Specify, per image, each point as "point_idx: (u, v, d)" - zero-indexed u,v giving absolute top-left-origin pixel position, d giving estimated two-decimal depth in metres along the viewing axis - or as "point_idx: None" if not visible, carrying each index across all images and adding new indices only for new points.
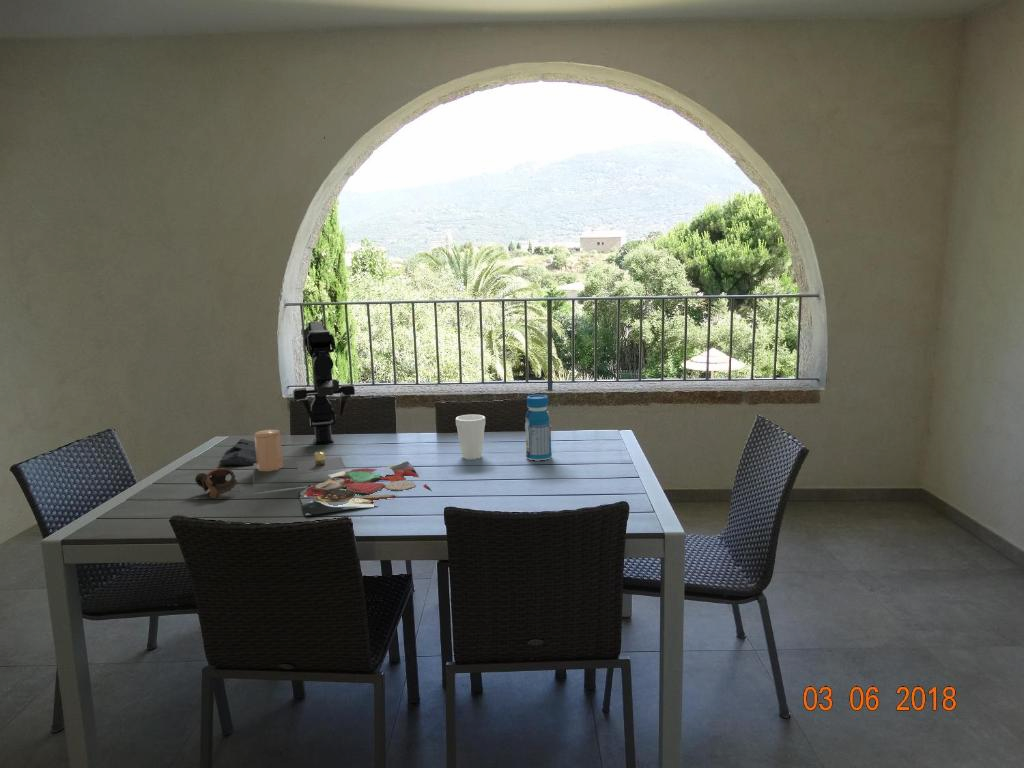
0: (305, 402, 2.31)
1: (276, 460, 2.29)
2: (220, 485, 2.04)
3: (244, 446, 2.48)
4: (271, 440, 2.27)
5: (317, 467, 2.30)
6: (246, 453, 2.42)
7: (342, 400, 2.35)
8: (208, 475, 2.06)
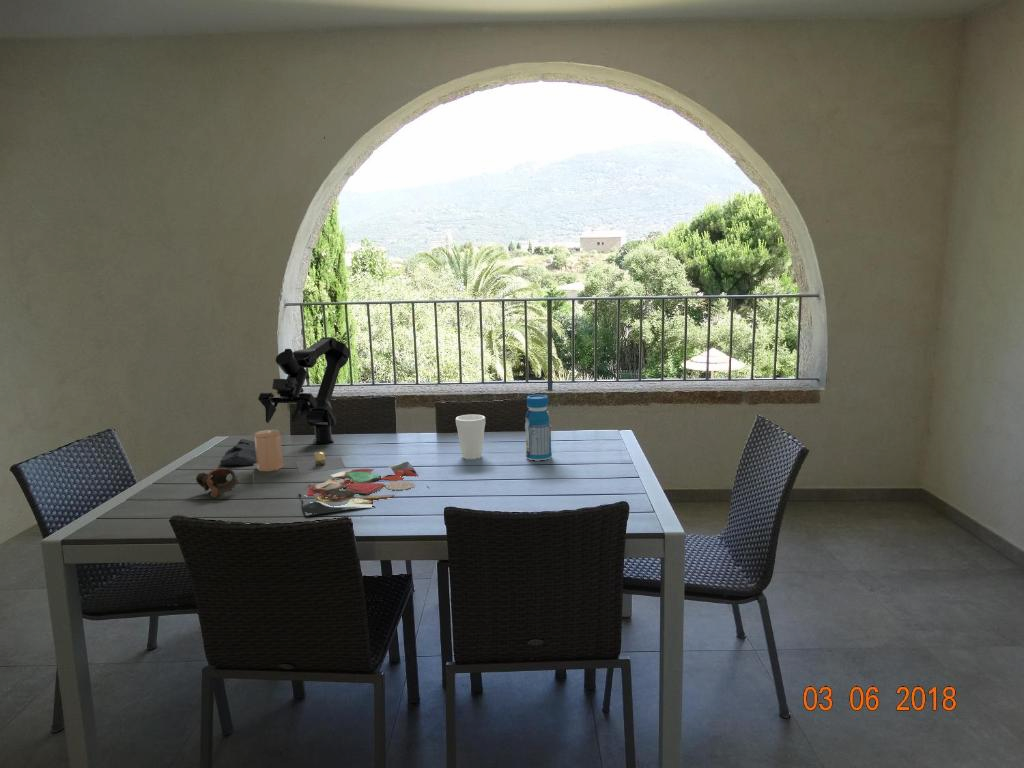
0: (266, 402, 2.40)
1: (276, 460, 2.29)
2: (221, 485, 2.04)
3: (245, 446, 2.48)
4: (271, 440, 2.27)
5: (317, 467, 2.30)
6: (246, 453, 2.42)
7: (297, 405, 2.37)
8: (209, 475, 2.06)
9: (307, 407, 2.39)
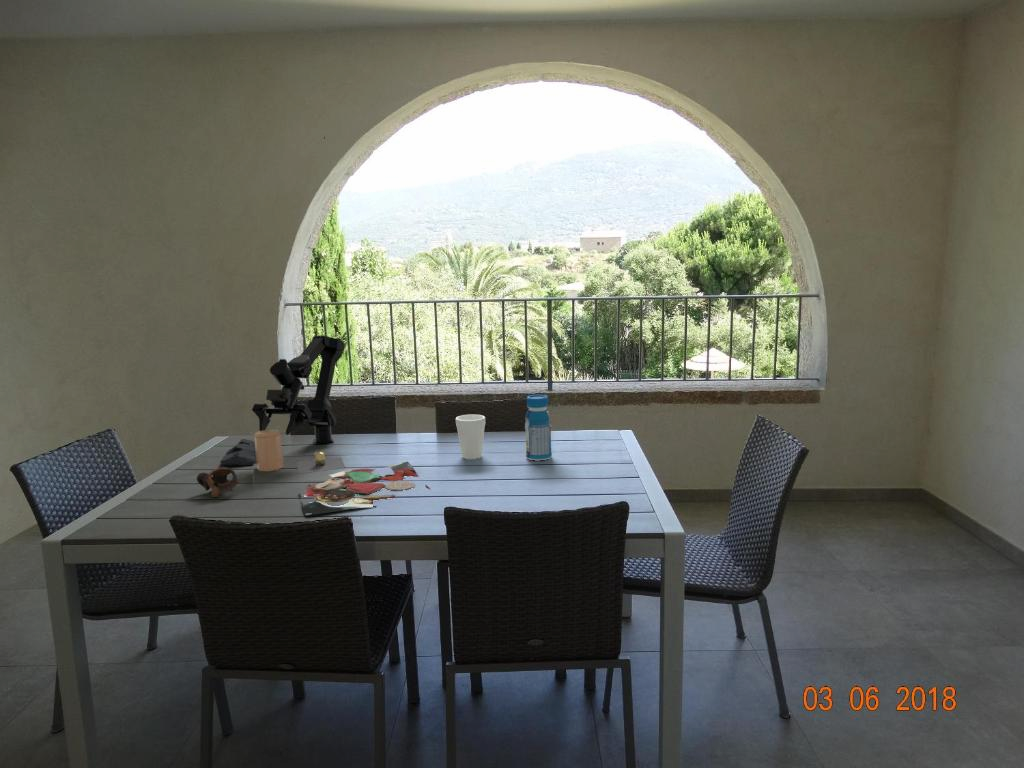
0: (260, 413, 2.36)
1: (276, 460, 2.29)
2: (222, 484, 2.05)
3: (245, 446, 2.48)
4: (271, 440, 2.27)
5: (317, 467, 2.30)
6: (247, 453, 2.42)
7: (291, 416, 2.34)
8: (210, 474, 2.06)
9: (301, 418, 2.36)
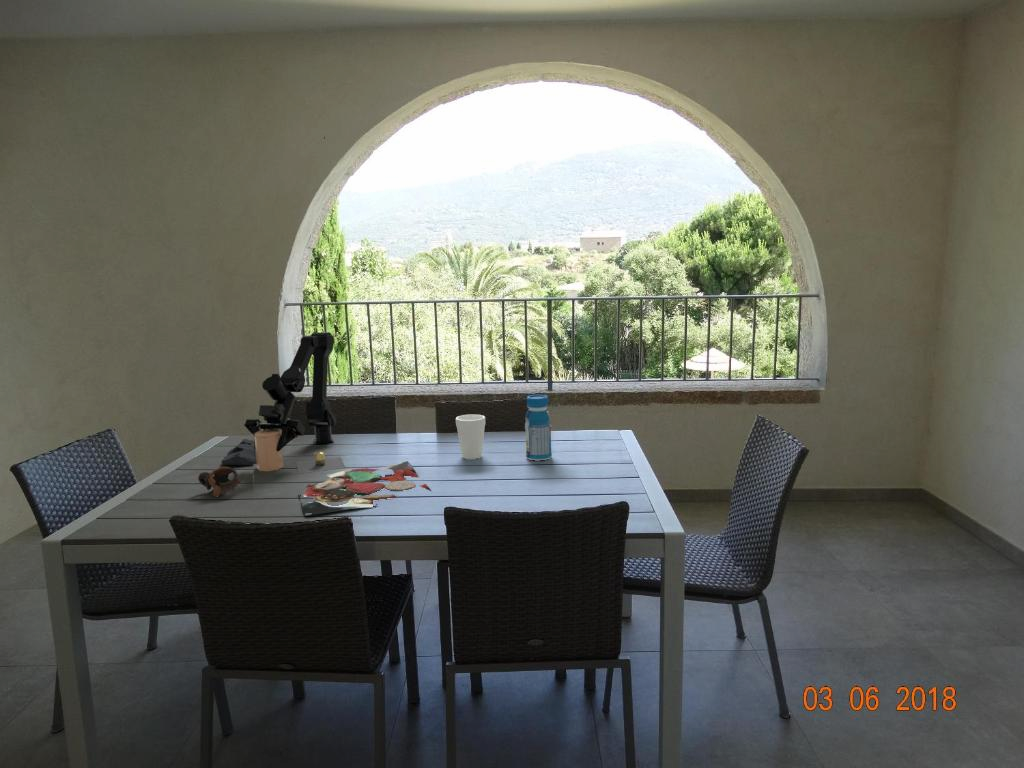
0: (254, 429, 2.32)
1: (276, 460, 2.29)
2: (223, 484, 2.05)
3: (246, 446, 2.48)
4: (271, 440, 2.27)
5: (317, 467, 2.30)
6: (247, 454, 2.41)
7: (282, 432, 2.30)
8: (211, 474, 2.07)
9: (293, 434, 2.32)
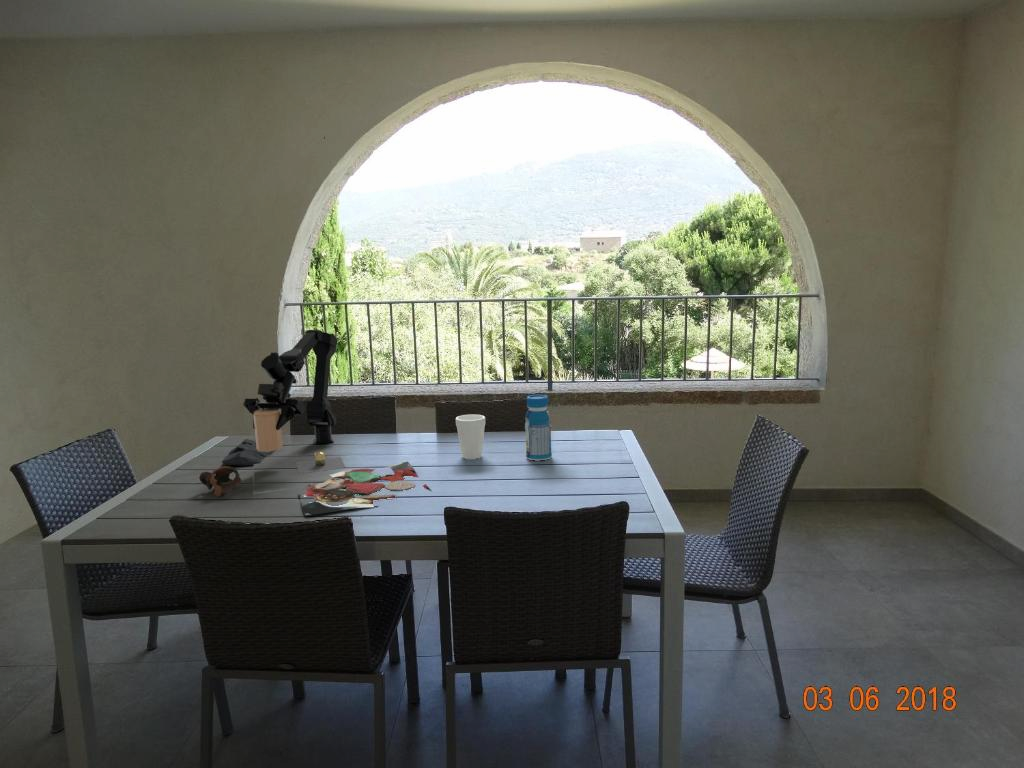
0: (253, 408, 2.31)
1: (275, 439, 2.28)
2: (225, 483, 2.06)
3: (247, 446, 2.48)
4: (270, 419, 2.26)
5: (317, 467, 2.30)
6: (248, 454, 2.41)
7: (282, 411, 2.29)
8: (212, 473, 2.07)
9: (292, 413, 2.31)
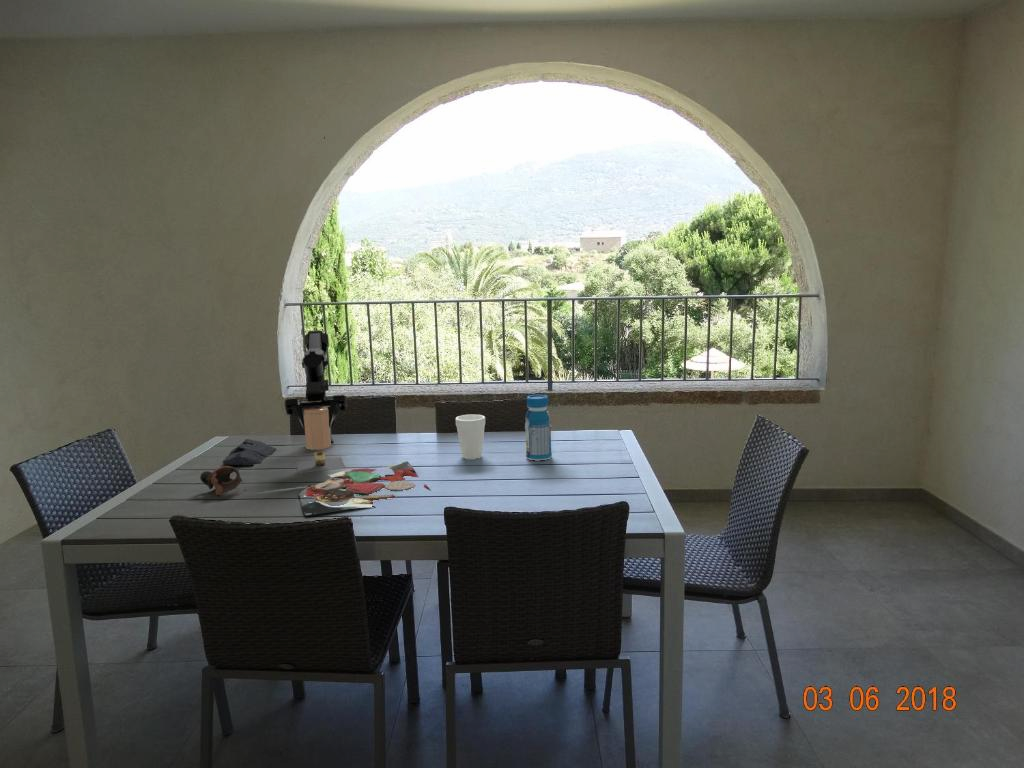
0: (298, 408, 2.30)
1: (329, 435, 2.30)
2: (226, 483, 2.06)
3: (248, 446, 2.48)
4: (325, 416, 2.28)
5: (317, 467, 2.30)
6: (249, 454, 2.41)
7: (331, 407, 2.32)
8: (213, 473, 2.08)
9: (338, 409, 2.35)
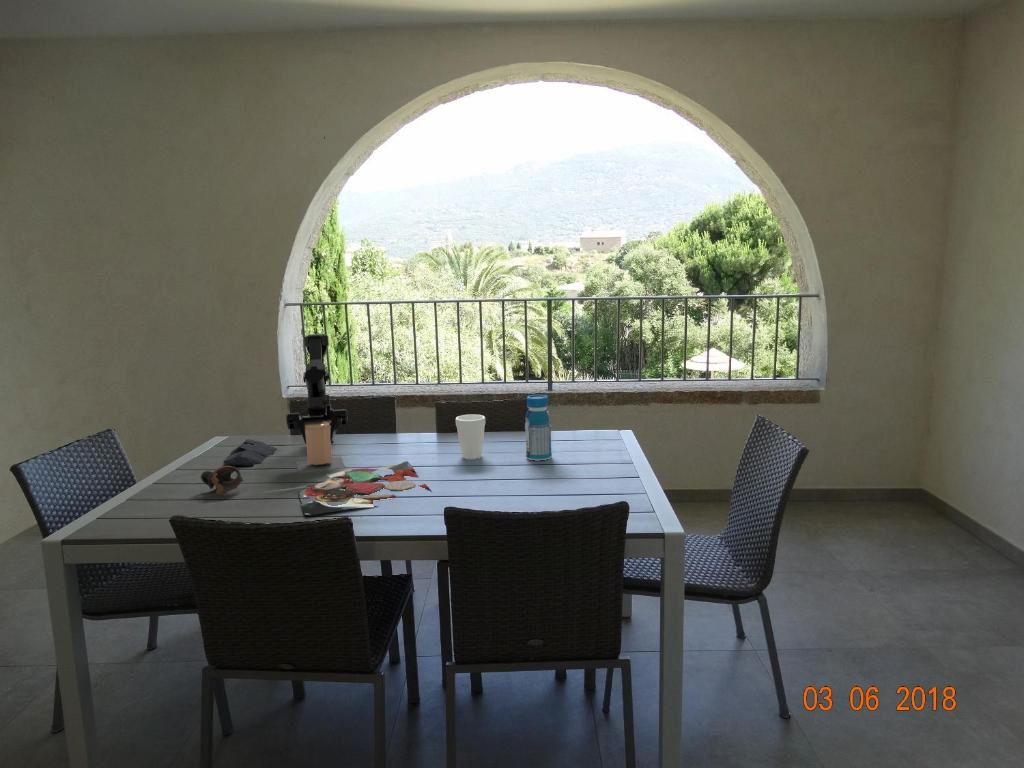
0: (300, 423, 2.31)
1: (330, 450, 2.31)
2: (226, 482, 2.06)
3: (249, 446, 2.48)
4: (326, 431, 2.29)
5: (317, 467, 2.30)
6: (250, 454, 2.41)
7: (332, 422, 2.33)
8: (214, 473, 2.08)
9: (339, 424, 2.36)
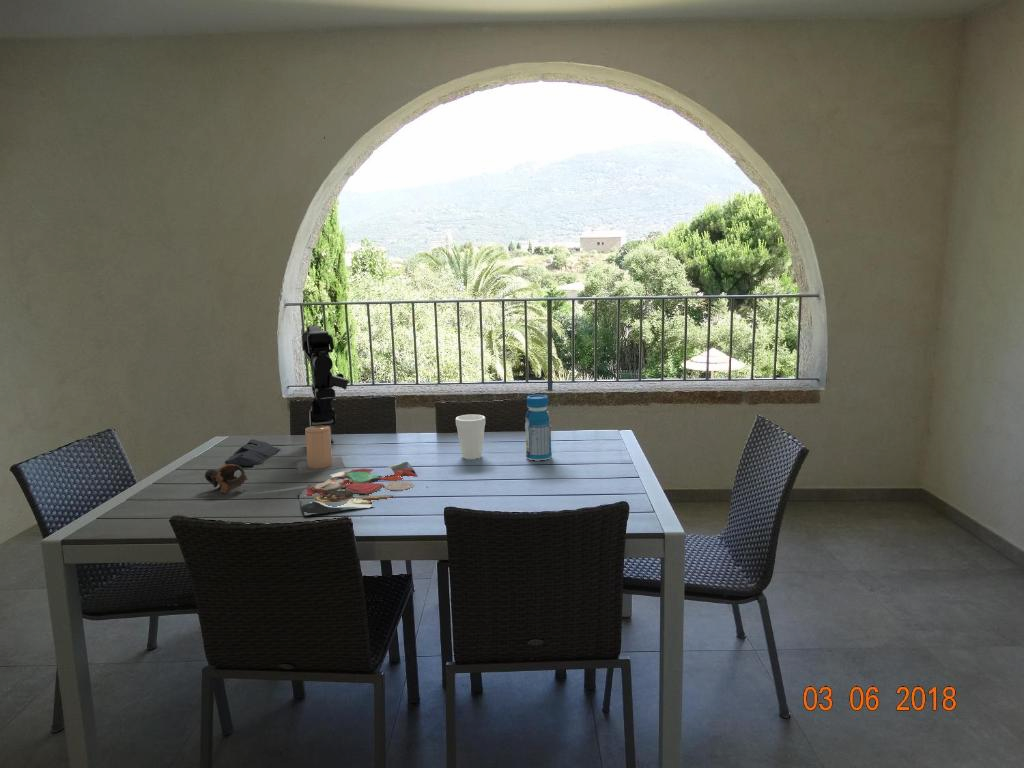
0: None
1: (330, 454, 2.31)
2: (231, 481, 2.08)
3: (252, 447, 2.47)
4: (326, 434, 2.29)
5: None
6: (251, 454, 2.40)
7: None
8: (218, 471, 2.09)
9: None
